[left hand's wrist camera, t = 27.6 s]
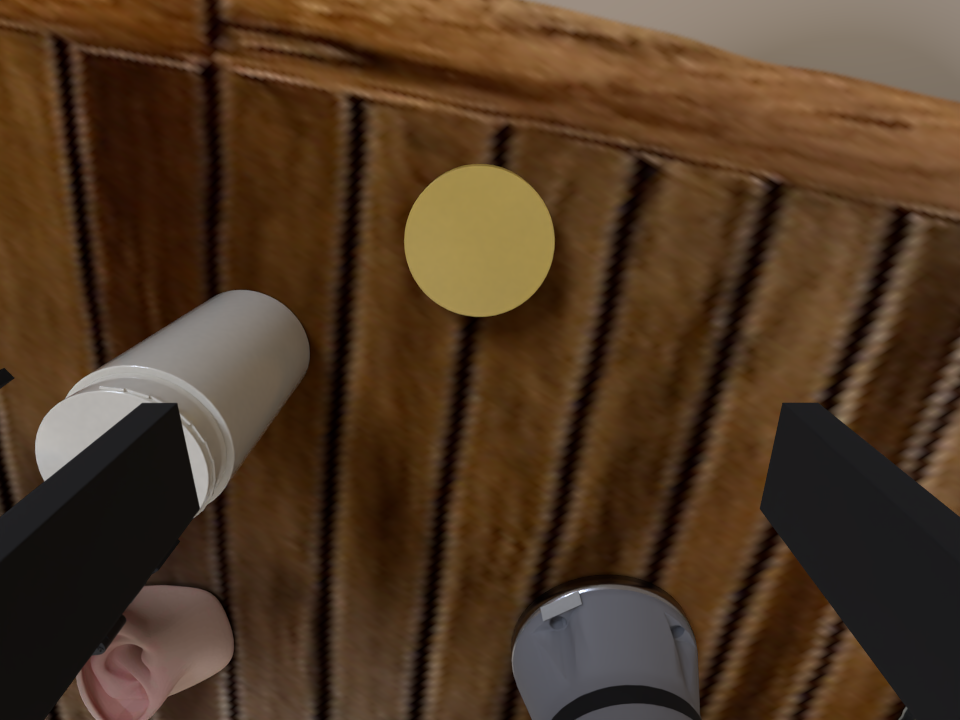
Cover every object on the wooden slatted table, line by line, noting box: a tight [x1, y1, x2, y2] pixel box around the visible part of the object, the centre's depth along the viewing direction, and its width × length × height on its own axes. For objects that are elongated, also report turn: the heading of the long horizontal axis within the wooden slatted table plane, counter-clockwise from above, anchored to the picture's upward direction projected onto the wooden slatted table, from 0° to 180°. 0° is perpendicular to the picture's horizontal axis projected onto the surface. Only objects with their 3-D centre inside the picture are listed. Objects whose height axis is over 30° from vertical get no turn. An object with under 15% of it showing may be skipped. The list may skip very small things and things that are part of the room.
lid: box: [404, 164, 555, 317], centre depth 36 cm, size 9×9×2 cm
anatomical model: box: [76, 585, 234, 720], centre depth 47 cm, size 13×4×12 cm
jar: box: [35, 290, 310, 517], centre depth 32 cm, size 8×8×15 cm
